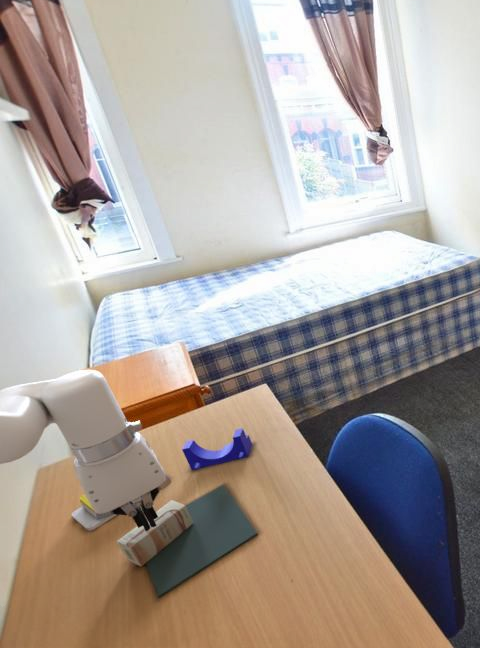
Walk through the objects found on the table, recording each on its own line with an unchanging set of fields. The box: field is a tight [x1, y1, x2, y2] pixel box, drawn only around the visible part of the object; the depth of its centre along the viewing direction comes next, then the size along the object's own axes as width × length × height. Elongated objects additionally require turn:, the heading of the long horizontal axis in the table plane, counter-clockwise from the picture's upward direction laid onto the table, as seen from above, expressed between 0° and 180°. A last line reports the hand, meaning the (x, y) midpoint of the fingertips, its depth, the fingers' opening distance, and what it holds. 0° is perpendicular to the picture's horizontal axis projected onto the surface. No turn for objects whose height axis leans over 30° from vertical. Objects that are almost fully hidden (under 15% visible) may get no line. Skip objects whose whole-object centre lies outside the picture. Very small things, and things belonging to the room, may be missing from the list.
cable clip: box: [181, 428, 253, 471], centre depth 109 cm, size 12×4×6 cm, turn 105°
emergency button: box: [71, 493, 142, 532], centre depth 100 cm, size 9×4×15 cm
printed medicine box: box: [116, 499, 194, 567], centre depth 87 cm, size 5×4×10 cm
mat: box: [145, 484, 258, 598], centre depth 89 cm, size 16×20×1 cm
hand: (149, 524), depth 83 cm, fingers closed
